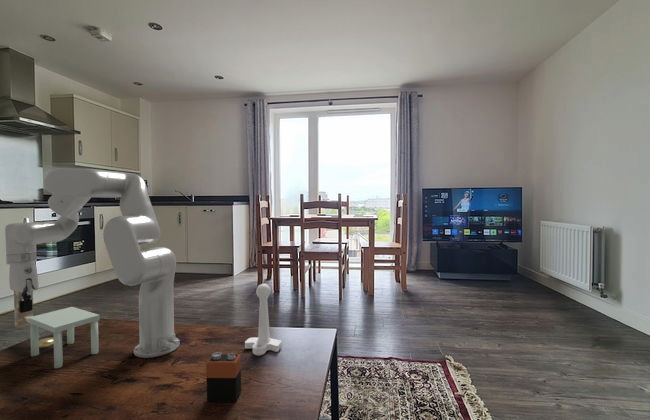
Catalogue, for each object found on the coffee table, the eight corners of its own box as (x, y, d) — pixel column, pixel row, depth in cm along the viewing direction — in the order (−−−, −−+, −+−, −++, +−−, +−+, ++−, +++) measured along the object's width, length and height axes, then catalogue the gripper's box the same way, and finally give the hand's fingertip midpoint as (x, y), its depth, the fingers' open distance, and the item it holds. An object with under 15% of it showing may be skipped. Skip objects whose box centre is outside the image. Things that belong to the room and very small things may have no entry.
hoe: (60, 332, 100) (58, 289, 100) (40, 337, 96) (38, 293, 96) (32, 322, 110) (30, 283, 110) (13, 327, 106) (11, 286, 106)
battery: (213, 391, 74) (213, 349, 74) (241, 391, 74) (241, 349, 73) (206, 402, 70) (205, 358, 69) (235, 403, 69) (235, 359, 69)
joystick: (283, 346, 97) (282, 283, 96) (274, 358, 89) (273, 289, 89) (251, 343, 99) (250, 281, 99) (239, 354, 92) (238, 287, 92)
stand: (100, 352, 94) (99, 314, 94) (55, 369, 85) (54, 327, 84) (72, 341, 102) (72, 306, 102) (29, 355, 93) (28, 317, 92)
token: (57, 343, 101) (57, 339, 101) (37, 350, 97) (37, 345, 97) (51, 340, 103) (51, 336, 103) (31, 346, 99) (31, 342, 99)
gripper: (46, 257, 107) (48, 310, 107) (26, 255, 114) (28, 304, 114) (16, 261, 100) (19, 318, 100) (-3, 258, 108) (-1, 311, 108)
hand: (23, 310), depth 107 cm, fingers closed on hoe, 3 cm apart
